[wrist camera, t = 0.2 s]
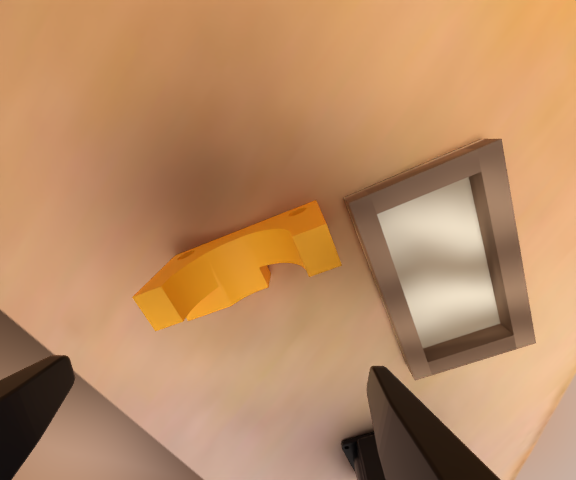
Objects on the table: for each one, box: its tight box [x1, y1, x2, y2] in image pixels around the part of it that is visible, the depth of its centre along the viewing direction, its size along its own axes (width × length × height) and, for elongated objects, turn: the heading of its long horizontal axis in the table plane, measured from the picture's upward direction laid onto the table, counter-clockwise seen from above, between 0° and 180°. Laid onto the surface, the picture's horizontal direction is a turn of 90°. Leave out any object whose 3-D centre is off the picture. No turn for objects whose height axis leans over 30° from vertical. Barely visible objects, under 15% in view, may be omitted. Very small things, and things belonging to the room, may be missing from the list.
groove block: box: [344, 139, 536, 380], centre depth 21 cm, size 17×10×2 cm, turn 24°
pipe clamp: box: [132, 200, 342, 331], centre depth 19 cm, size 12×4×6 cm, turn 112°
